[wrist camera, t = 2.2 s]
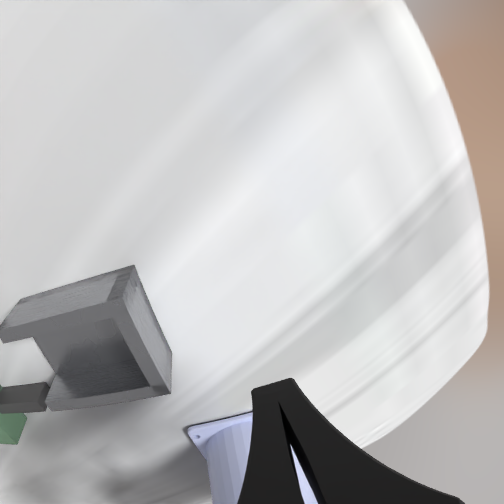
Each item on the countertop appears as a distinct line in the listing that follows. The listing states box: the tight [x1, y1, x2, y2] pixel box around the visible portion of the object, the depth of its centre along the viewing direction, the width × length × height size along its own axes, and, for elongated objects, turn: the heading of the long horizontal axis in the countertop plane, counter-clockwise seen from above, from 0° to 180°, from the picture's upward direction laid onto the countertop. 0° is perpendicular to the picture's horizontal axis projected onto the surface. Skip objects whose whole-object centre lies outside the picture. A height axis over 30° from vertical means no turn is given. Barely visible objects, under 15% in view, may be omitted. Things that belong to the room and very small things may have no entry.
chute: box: [0, 265, 172, 411], centre depth 15 cm, size 6×8×4 cm
